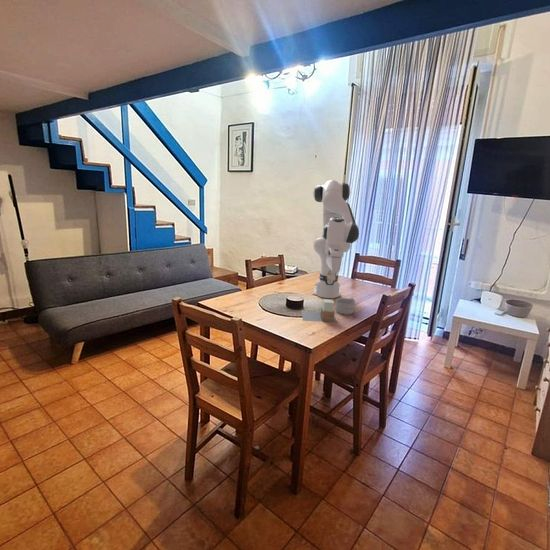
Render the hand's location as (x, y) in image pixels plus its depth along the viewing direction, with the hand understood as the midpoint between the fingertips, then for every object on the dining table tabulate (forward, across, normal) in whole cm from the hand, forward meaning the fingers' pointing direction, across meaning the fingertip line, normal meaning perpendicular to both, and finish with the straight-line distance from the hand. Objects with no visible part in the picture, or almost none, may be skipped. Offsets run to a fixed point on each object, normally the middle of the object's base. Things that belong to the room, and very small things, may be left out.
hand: (331, 276), depth 168 cm
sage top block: (+18, 0, 0) cm, 18 cm away
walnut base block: (+23, 0, 0) cm, 23 cm away
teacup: (+24, -13, +13) cm, 30 cm away
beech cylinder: (+2, 0, 0) cm, 2 cm away
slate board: (+24, -3, -4) cm, 25 cm away
